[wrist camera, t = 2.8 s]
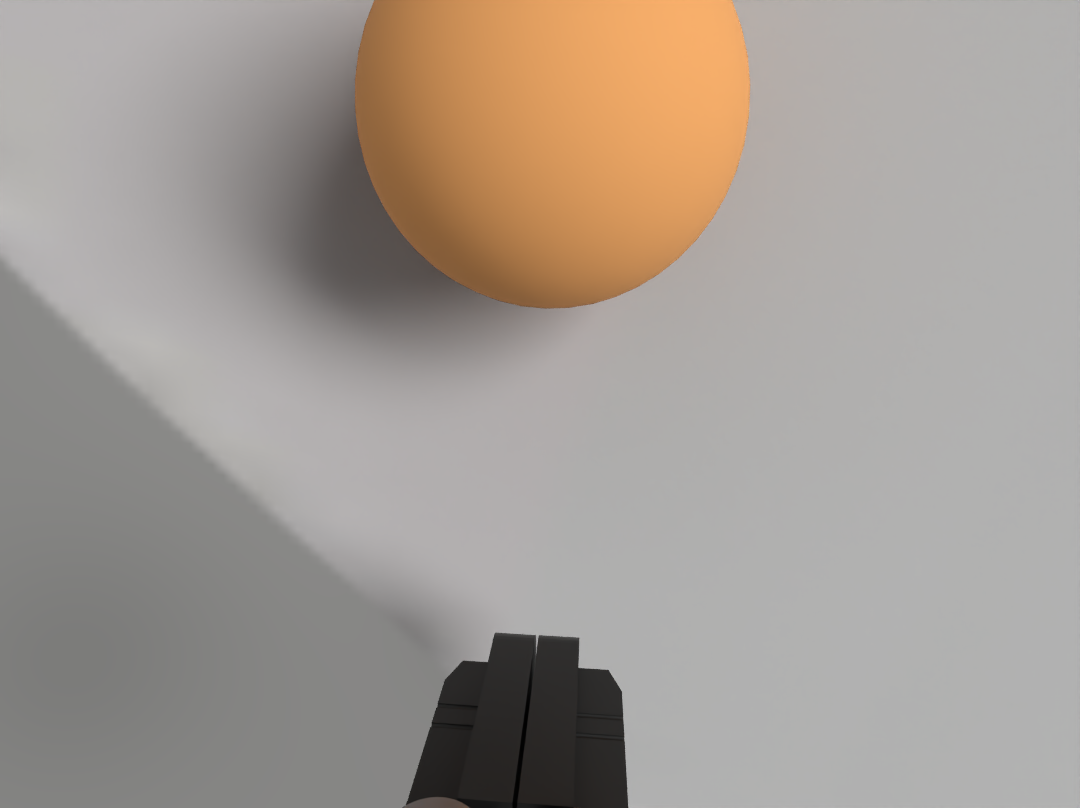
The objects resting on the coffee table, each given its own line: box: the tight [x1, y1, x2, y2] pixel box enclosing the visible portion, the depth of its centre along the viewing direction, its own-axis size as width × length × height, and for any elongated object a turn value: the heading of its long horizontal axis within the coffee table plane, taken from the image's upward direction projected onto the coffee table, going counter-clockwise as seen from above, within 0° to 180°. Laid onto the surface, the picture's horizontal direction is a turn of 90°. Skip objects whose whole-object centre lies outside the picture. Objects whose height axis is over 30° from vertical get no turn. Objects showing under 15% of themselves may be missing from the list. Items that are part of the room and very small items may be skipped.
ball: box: [355, 0, 750, 308], centre depth 10 cm, size 6×6×6 cm
